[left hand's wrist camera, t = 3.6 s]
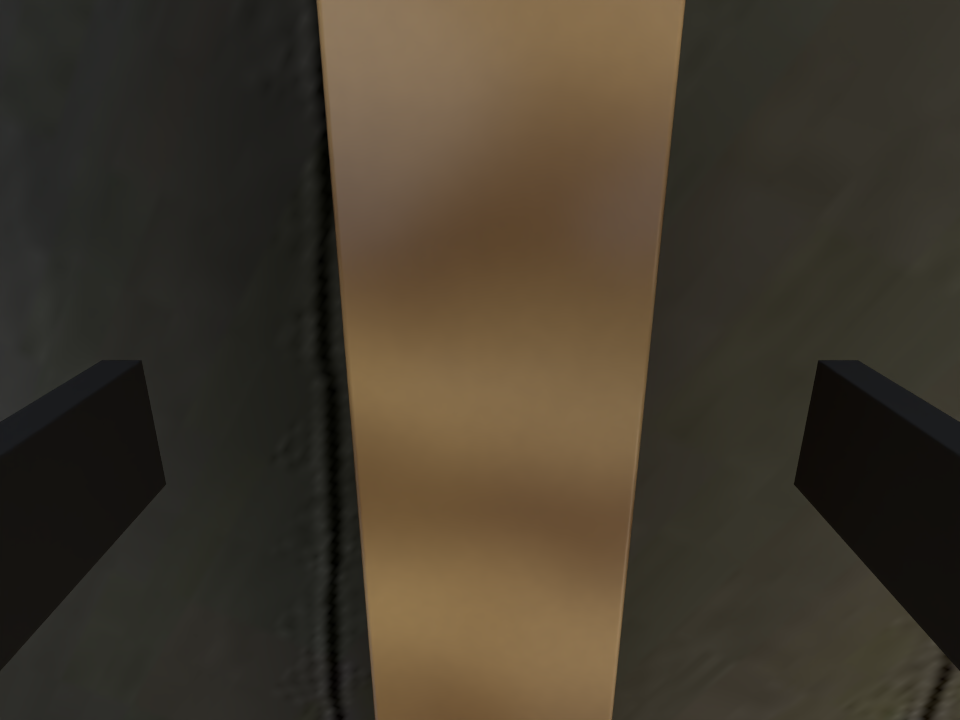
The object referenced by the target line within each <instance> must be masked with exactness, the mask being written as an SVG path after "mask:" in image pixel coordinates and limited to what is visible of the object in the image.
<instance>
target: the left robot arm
mask: <svg viewBox="0 0 960 720" xmlns="http://www.w3.org/2000/svg"><path fill="white" fill-rule="evenodd" d="M165 485H166V482H165V477H164V472H163V467H162V462H161V456H160V451H159V446H158V441H157V436H156V431H155V426H154V421H153V416H152V411H151V406H150V401H149V396H148V391H147V386H146V381H145V376H144V371H143V365H142V360H102V361H100V362H99V363H97V364H95V365H94V366H92V367H90V368H89V369H87V370H85V371H84V372H82V373H80V374H79V375H77V376H75V377H74V378H72V379H71V380H69V381H67V382H66V383H64V384H62V385H61V386H59V387H57V388H56V389H54V390H52V391H51V392H49V393H47V394H46V395H44V396H43V397H41V398H39V399H38V400H36V401H34V402H33V403H31V404H29V405H28V406H26V407H24V408H23V409H21V410H19V411H18V412H16V413H15V414H13V415H11V416H10V417H8V418H6V419H5V420H3V421H1V422H0V670H1V669H2V668H3V667H4V666H5V665H6V664H7V663H8V661H9V660H10V659H11V658H12V657H13V656H14V655H15V654H16V652H17V651H18V650H19V649H20V648H21V647H22V646H23V645H24V643H25V642H26V641H27V640H28V639H29V638H30V637H31V636H32V634H33V633H34V632H35V631H36V630H37V629H38V628H39V627H40V625H41V624H42V623H43V622H44V621H45V620H46V619H47V618H48V616H49V615H50V614H51V613H52V612H53V611H54V610H55V609H56V607H57V606H58V605H59V604H60V603H61V602H62V601H63V600H64V598H65V597H66V596H67V595H68V594H69V593H70V592H71V591H72V589H73V588H74V587H75V586H76V585H77V584H78V583H79V582H80V580H81V579H82V578H83V577H84V576H85V575H86V574H87V573H88V571H89V570H90V569H91V568H92V567H93V566H94V565H95V564H96V562H97V561H98V560H99V559H100V558H101V557H102V556H103V555H104V553H105V552H106V551H107V550H108V549H109V548H110V547H111V546H112V544H113V543H114V542H115V541H116V540H117V539H118V538H119V537H120V535H121V534H122V533H123V532H124V531H125V530H126V529H127V528H128V526H129V525H130V524H131V523H132V522H133V521H134V520H135V519H136V517H137V516H138V515H139V514H140V513H141V512H142V511H143V510H144V508H145V507H146V506H147V505H148V504H149V503H150V502H151V501H152V499H153V498H154V497H155V496H156V495H157V494H158V493H159V492H160V490H161V489H162V488H163V487H164V486H165ZM794 485H795V486H796V487H797V488H798V489H799V490H800V492H801V493H802V494H803V495H804V496H805V497H806V498H807V499H808V501H809V502H810V503H811V504H812V505H813V506H814V507H815V508H816V510H817V511H818V512H819V513H820V514H821V515H822V516H823V517H824V519H825V520H826V521H827V522H828V523H829V524H830V525H831V526H832V528H833V529H834V530H835V531H836V532H837V533H838V534H839V535H840V537H841V538H842V539H843V540H844V541H845V542H846V543H847V544H848V546H849V547H850V548H851V549H852V550H853V551H854V552H855V553H856V555H857V556H858V557H859V558H860V559H861V560H862V561H863V562H864V564H865V565H866V566H867V567H868V568H869V569H870V570H871V571H872V573H873V574H874V575H875V576H876V577H877V578H878V579H879V580H880V582H881V583H882V584H883V585H884V586H885V587H886V588H887V589H888V591H889V592H890V593H891V594H892V595H893V596H894V597H895V598H896V600H897V601H898V602H899V603H900V604H901V605H902V606H903V607H904V609H905V610H906V611H907V612H908V613H909V614H910V615H911V616H912V618H913V619H914V620H915V621H916V622H917V623H918V624H919V625H920V627H921V628H922V629H923V630H924V631H925V632H926V633H927V634H928V636H929V637H930V638H931V639H932V640H933V641H934V642H935V643H936V645H937V646H938V647H939V648H940V649H941V650H942V651H943V652H944V654H945V655H946V656H947V657H948V658H949V659H950V660H951V661H952V663H953V664H954V665H955V666H956V667H957V668H958V669H959V670H960V422H959V421H957V420H955V419H954V418H952V417H950V416H949V415H947V414H945V413H944V412H942V411H941V410H939V409H937V408H936V407H934V406H932V405H931V404H929V403H927V402H926V401H924V400H922V399H921V398H919V397H917V396H916V395H914V394H913V393H911V392H909V391H908V390H906V389H904V388H903V387H901V386H899V385H898V384H896V383H894V382H893V381H891V380H889V379H888V378H886V377H884V376H883V375H881V374H880V373H878V372H876V371H875V370H873V369H871V368H870V367H868V366H866V365H865V364H863V363H861V362H860V361H858V360H818V365H817V371H816V376H815V381H814V386H813V391H812V396H811V401H810V406H809V411H808V416H807V421H806V426H805V431H804V436H803V441H802V446H801V451H800V456H799V461H798V467H797V472H796V477H795V482H794Z"/></svg>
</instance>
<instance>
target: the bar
mask: <svg viewBox="0 0 960 720" xmlns="http://www.w3.org/2000/svg"><path fill="white" fill-rule="evenodd" d="M316 1H317V13H318V26H319V38H320V50H321V62H322V75H323V87H324V99H325V112H326V124H327V136H328V148H329V161H330V173H331V185H332V198H333V210H334V222H335V235H336V247H337V259H338V271H339V284H340V296H341V308H342V321H343V333H344V345H345V357H346V370H347V382H348V394H349V407H350V419H351V431H352V443H353V456H354V468H355V480H356V493H357V505H358V517H359V529H360V542H361V554H362V566H363V579H364V591H365V603H366V616H367V628H368V640H369V652H370V665H371V677H372V689H373V702H374V714H375V720H612V715H613V705H614V696H615V686H616V676H617V666H618V656H619V647H620V637H621V627H622V617H623V607H624V598H625V588H626V578H627V568H628V558H629V549H630V539H631V529H632V519H633V509H634V500H635V490H636V480H637V470H638V461H639V451H640V441H641V431H642V421H643V412H644V402H645V392H646V382H647V372H648V363H649V353H650V343H651V333H652V323H653V314H654V304H655V294H656V284H657V274H658V265H659V255H660V245H661V235H662V225H663V216H664V206H665V196H666V186H667V177H668V167H669V157H670V147H671V137H672V128H673V118H674V108H675V98H676V88H677V79H678V69H679V59H680V49H681V39H682V30H683V20H684V10H685V0H316Z"/></svg>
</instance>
